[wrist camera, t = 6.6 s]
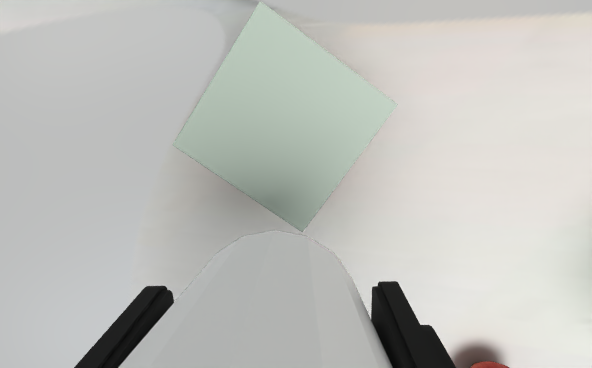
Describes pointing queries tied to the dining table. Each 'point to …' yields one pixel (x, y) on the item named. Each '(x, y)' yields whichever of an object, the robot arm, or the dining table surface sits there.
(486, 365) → the onion
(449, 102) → the dining table surface
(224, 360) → the white cup
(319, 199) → the tower top block
